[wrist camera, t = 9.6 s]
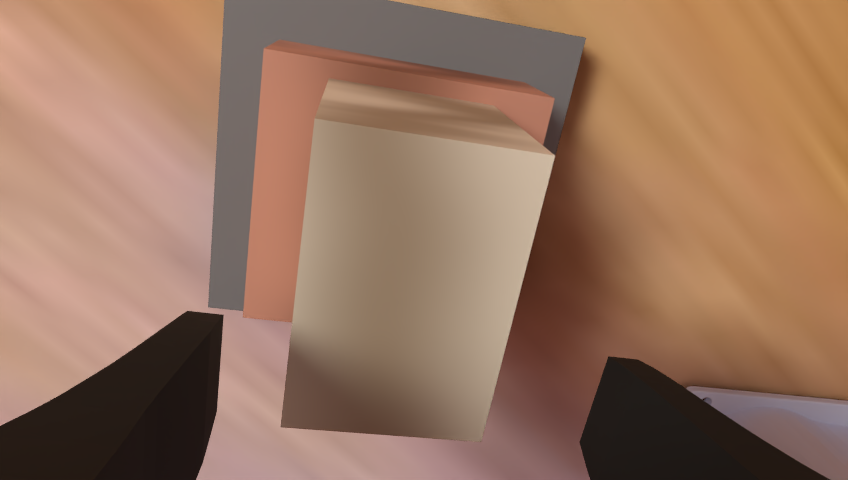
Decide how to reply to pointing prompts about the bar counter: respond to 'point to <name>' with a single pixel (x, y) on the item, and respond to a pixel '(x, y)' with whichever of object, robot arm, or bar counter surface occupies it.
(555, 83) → the base plate
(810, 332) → the bar counter surface
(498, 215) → the ash brick
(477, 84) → the terracotta brick
